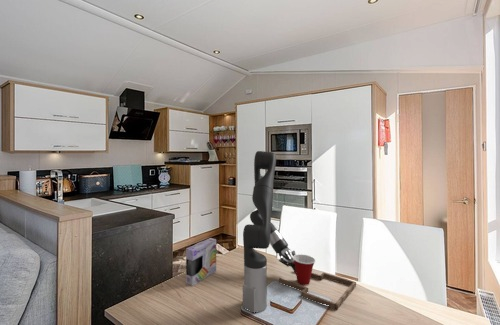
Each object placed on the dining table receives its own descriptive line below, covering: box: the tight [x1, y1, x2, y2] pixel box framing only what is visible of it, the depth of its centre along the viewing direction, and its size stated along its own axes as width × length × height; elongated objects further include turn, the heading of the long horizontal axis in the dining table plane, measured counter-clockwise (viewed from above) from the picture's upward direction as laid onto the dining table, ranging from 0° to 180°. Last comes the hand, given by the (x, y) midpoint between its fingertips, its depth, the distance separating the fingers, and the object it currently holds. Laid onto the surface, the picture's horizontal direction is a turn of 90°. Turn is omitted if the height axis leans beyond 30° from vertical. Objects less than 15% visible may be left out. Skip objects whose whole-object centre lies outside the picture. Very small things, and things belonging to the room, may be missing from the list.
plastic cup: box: [293, 253, 316, 286], centre depth 125 cm, size 11×11×12 cm
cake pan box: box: [185, 237, 217, 287], centre depth 129 cm, size 19×5×18 cm, turn 148°
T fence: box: [278, 270, 357, 311], centre depth 121 cm, size 24×30×2 cm
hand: (298, 271), depth 127 cm, fingers closed
